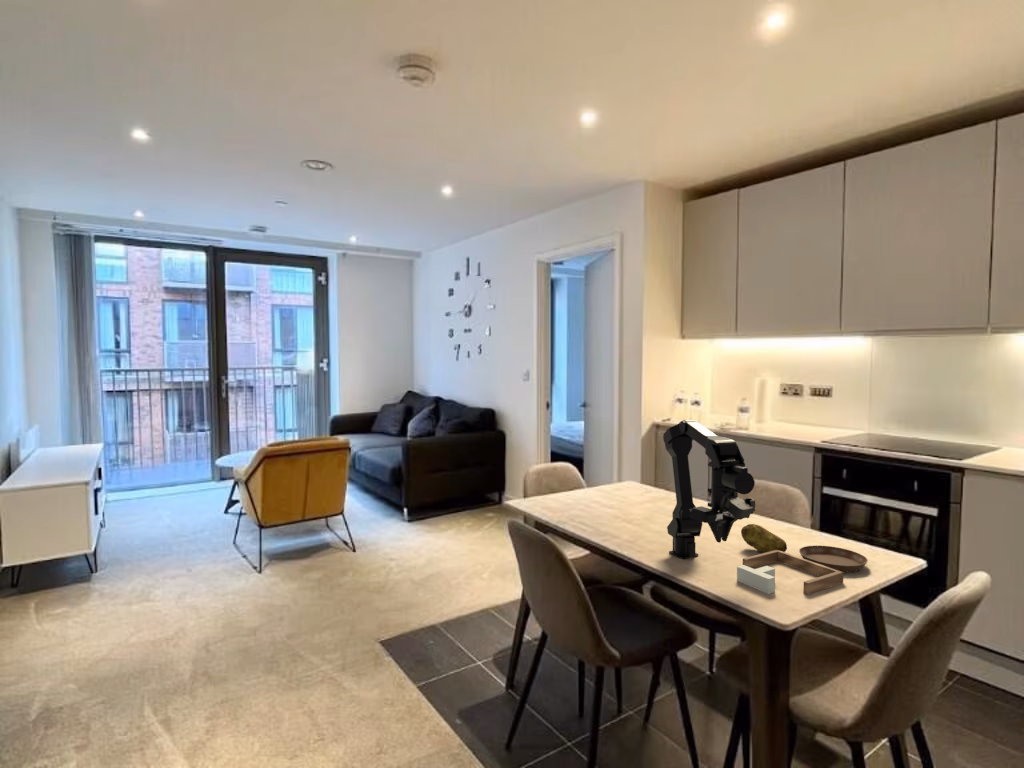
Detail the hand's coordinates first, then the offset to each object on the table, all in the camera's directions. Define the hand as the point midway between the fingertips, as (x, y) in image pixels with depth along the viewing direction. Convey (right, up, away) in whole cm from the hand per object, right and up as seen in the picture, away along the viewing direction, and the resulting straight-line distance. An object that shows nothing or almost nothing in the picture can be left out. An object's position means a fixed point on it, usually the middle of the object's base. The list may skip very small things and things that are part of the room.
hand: (721, 541), depth 157 cm
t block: (+10, -11, -2) cm, 15 cm away
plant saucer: (+38, -11, +13) cm, 41 cm away
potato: (+22, -10, +24) cm, 34 cm away
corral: (+21, -11, +4) cm, 23 cm away
